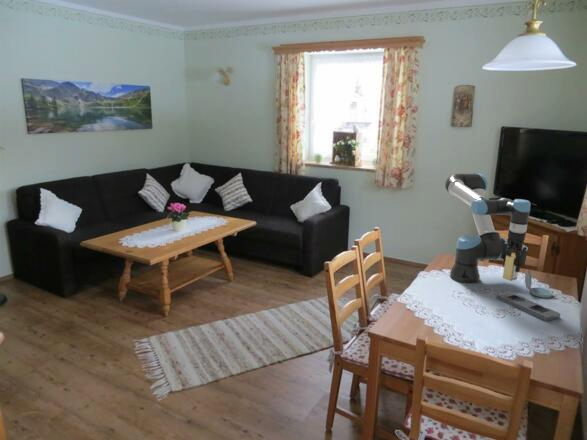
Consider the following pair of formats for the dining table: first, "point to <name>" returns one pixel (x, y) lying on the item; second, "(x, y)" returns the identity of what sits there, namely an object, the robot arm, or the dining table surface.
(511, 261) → the brass block
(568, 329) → the dining table surface
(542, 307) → the panel
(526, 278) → the pocket watch
